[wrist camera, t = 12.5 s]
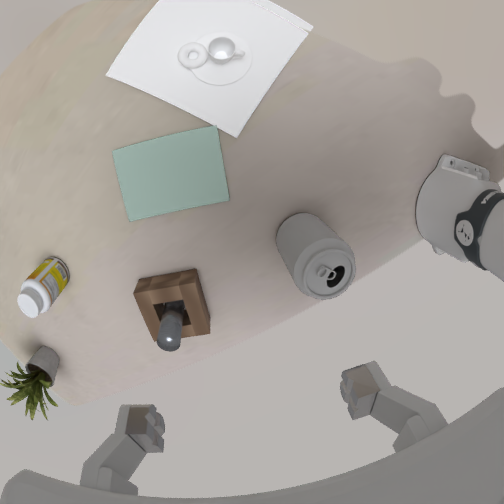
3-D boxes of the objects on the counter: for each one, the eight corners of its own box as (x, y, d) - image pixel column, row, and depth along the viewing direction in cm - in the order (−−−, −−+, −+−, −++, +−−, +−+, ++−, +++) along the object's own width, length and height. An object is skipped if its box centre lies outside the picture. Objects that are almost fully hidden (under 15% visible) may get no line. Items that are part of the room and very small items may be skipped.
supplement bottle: (41, 276, 37) (12, 310, 28) (47, 250, 35) (13, 281, 26) (67, 291, 39) (41, 329, 29) (73, 266, 37) (44, 301, 28)
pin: (182, 289, 41) (176, 332, 32) (187, 305, 42) (183, 349, 33) (163, 292, 41) (153, 335, 32) (169, 308, 42) (161, 352, 33)
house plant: (43, 316, 40) (5, 376, 25) (90, 365, 46) (68, 429, 31) (15, 338, 41) (-16, 389, 26) (57, 379, 47) (36, 434, 32)
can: (308, 266, 42) (338, 312, 31) (265, 248, 40) (284, 294, 29) (333, 224, 40) (373, 259, 29) (290, 202, 38) (321, 232, 27)
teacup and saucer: (170, 67, 28) (165, 58, 24) (205, 21, 26) (204, 8, 22) (230, 96, 30) (233, 91, 27) (263, 50, 28) (270, 40, 25)
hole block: (196, 268, 40) (194, 282, 36) (210, 317, 44) (210, 333, 40) (139, 279, 39) (133, 293, 36) (157, 325, 43) (154, 341, 40)
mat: (216, 125, 32) (216, 125, 32) (229, 199, 36) (229, 200, 36) (113, 150, 31) (111, 151, 31) (130, 220, 36) (129, 221, 35)
